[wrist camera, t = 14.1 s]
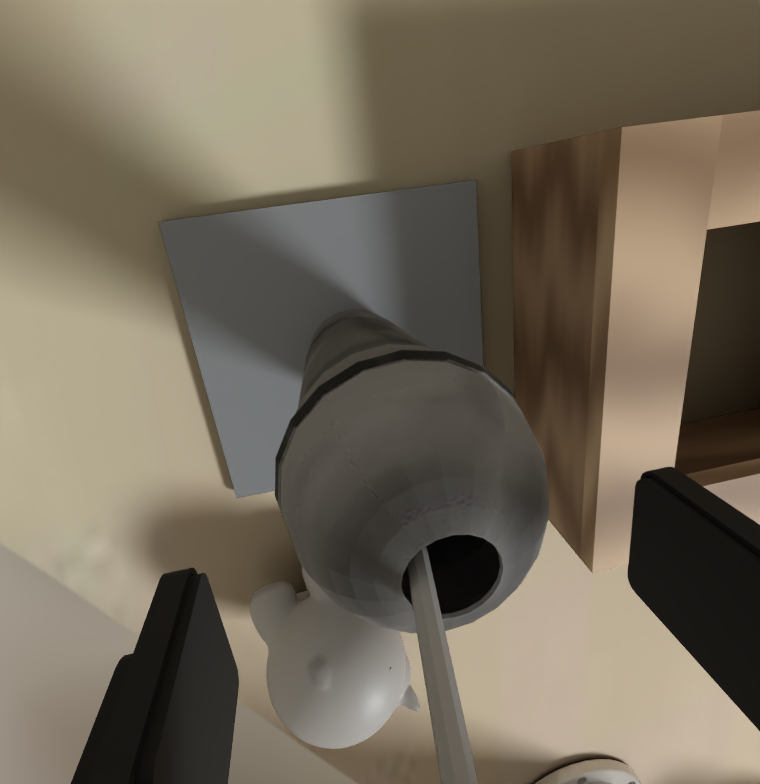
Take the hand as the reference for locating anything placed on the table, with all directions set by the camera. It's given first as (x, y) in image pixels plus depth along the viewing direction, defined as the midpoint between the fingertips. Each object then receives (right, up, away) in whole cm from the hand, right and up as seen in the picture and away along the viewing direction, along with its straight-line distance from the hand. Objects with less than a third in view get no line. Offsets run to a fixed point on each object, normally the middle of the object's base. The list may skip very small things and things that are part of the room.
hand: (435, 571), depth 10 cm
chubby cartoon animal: (-4, -10, +20) cm, 23 cm away
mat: (-3, +6, +14) cm, 16 cm away
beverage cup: (-3, +6, +14) cm, 15 cm away
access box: (+15, +8, +17) cm, 24 cm away
